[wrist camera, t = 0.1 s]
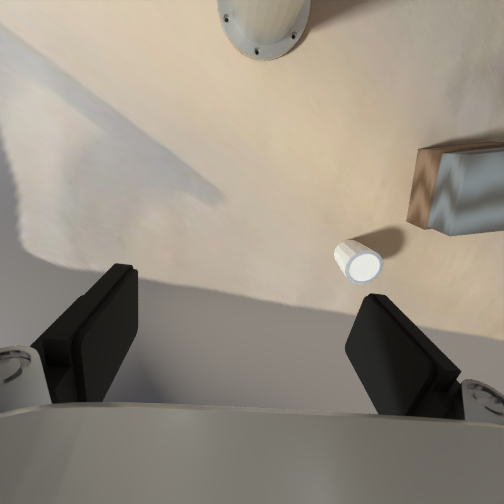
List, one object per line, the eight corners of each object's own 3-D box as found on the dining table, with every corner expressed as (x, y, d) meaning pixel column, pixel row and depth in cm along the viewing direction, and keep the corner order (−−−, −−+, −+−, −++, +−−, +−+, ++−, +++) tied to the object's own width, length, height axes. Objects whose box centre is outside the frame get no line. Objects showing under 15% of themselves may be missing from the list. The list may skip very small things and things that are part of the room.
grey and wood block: (418, 149, 44) (467, 151, 35) (491, 142, 44) (558, 142, 35) (406, 221, 49) (446, 239, 40) (471, 214, 49) (525, 231, 40)
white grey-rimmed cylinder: (371, 247, 51) (391, 263, 44) (348, 273, 53) (364, 291, 46) (347, 230, 49) (364, 243, 43) (324, 257, 51) (337, 273, 45)
